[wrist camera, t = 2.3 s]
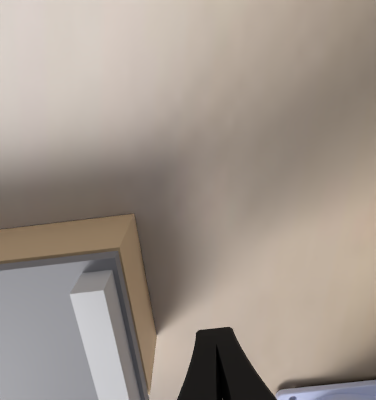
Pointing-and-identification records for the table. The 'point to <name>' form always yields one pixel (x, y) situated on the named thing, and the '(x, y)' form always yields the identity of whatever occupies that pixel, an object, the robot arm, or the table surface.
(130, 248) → the box
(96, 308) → the lid
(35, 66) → the table surface
